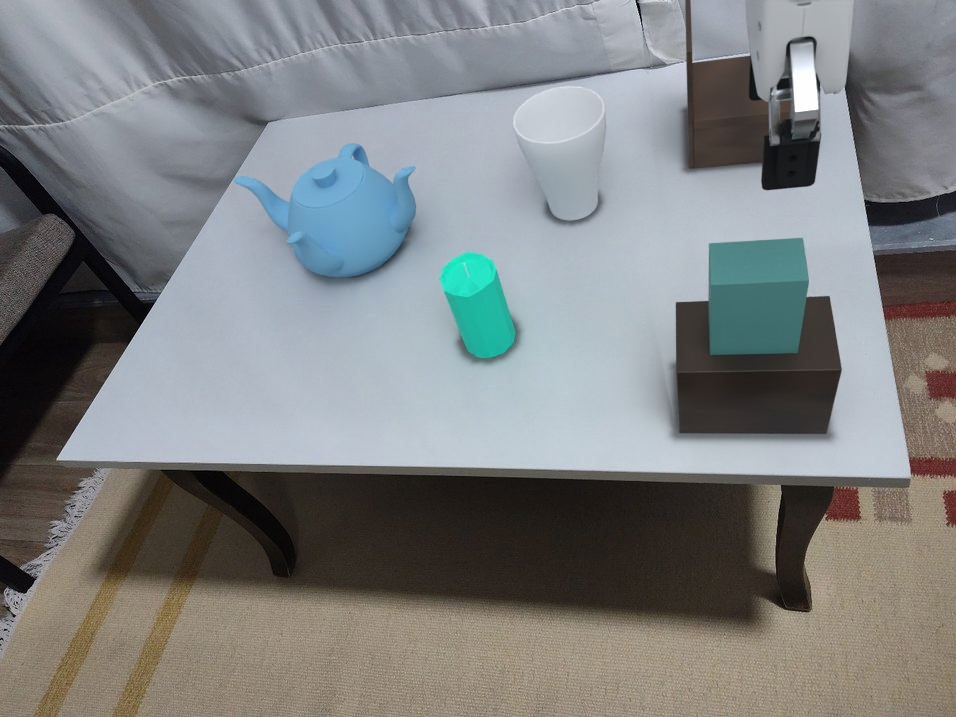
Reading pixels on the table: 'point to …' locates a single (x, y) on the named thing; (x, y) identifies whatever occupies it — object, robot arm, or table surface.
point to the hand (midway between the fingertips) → (779, 138)
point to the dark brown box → (757, 378)
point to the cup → (564, 146)
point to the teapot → (342, 213)
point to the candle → (478, 304)
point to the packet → (756, 296)
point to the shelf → (723, 110)
